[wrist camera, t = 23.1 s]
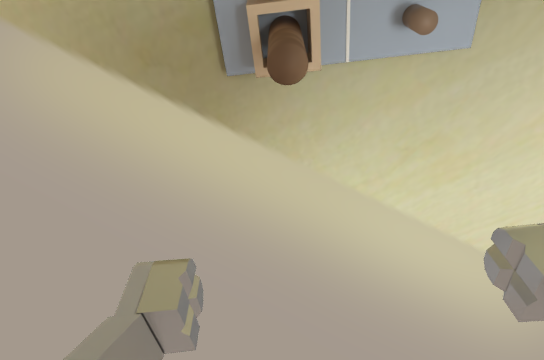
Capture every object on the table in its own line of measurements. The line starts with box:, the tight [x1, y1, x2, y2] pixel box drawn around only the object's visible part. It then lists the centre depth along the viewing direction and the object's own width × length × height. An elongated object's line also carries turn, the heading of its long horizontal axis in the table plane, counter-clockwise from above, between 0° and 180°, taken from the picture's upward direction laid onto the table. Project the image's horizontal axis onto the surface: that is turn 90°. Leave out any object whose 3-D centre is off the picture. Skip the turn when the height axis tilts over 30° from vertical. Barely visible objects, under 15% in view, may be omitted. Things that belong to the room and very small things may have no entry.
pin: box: [267, 15, 308, 85], centre depth 28 cm, size 3×3×9 cm
